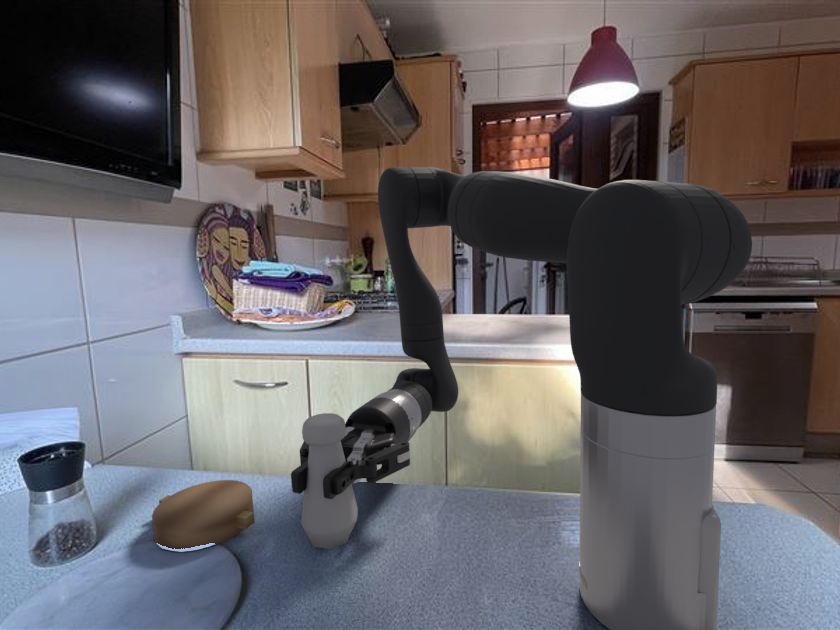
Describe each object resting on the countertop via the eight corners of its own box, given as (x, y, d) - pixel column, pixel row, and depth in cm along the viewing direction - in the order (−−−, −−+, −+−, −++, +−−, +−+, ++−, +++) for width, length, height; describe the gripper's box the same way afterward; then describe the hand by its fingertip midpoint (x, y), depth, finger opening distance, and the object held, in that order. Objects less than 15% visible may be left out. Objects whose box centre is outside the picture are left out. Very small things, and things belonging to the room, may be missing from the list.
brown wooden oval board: (281, 508, 51) (279, 488, 51) (214, 563, 42) (212, 539, 42) (200, 492, 56) (198, 474, 55) (123, 539, 46) (120, 517, 46)
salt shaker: (364, 521, 48) (358, 407, 47) (351, 556, 42) (344, 427, 41) (313, 520, 49) (305, 407, 47) (293, 554, 43) (284, 427, 41)
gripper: (338, 393, 60) (249, 442, 44) (434, 400, 55) (374, 458, 39) (341, 445, 61) (255, 511, 45) (436, 457, 56) (378, 536, 40)
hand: (311, 486), depth 42 cm, fingers closed on salt shaker, 3 cm apart
